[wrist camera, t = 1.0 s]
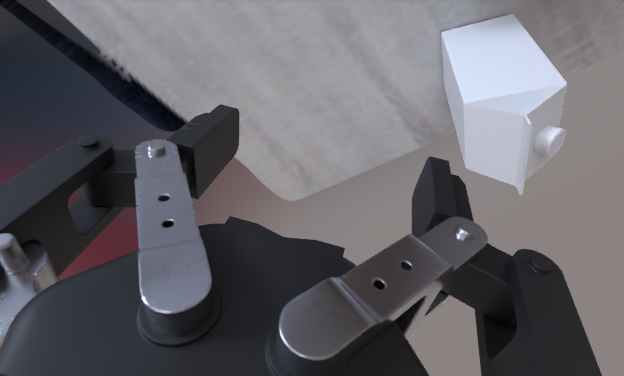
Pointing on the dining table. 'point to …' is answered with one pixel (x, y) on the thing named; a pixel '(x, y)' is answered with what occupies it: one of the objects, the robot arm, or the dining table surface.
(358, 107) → the dining table surface
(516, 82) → the milk carton
